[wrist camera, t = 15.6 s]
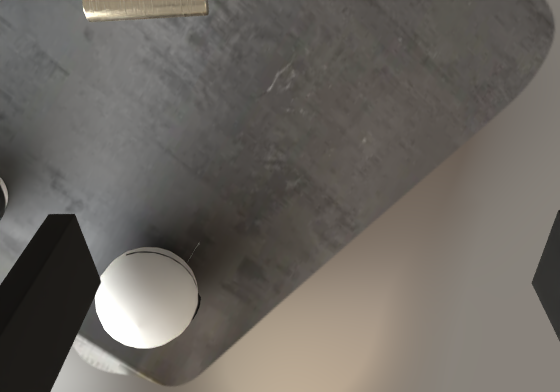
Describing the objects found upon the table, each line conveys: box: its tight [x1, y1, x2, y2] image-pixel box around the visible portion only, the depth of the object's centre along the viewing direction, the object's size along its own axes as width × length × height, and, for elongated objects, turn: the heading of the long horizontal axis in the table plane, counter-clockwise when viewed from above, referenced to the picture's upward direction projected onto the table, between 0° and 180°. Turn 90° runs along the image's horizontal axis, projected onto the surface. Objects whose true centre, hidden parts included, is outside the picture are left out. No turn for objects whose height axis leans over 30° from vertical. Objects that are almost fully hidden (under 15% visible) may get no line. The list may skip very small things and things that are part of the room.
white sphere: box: [95, 245, 201, 348], centre depth 36 cm, size 10×7×7 cm
